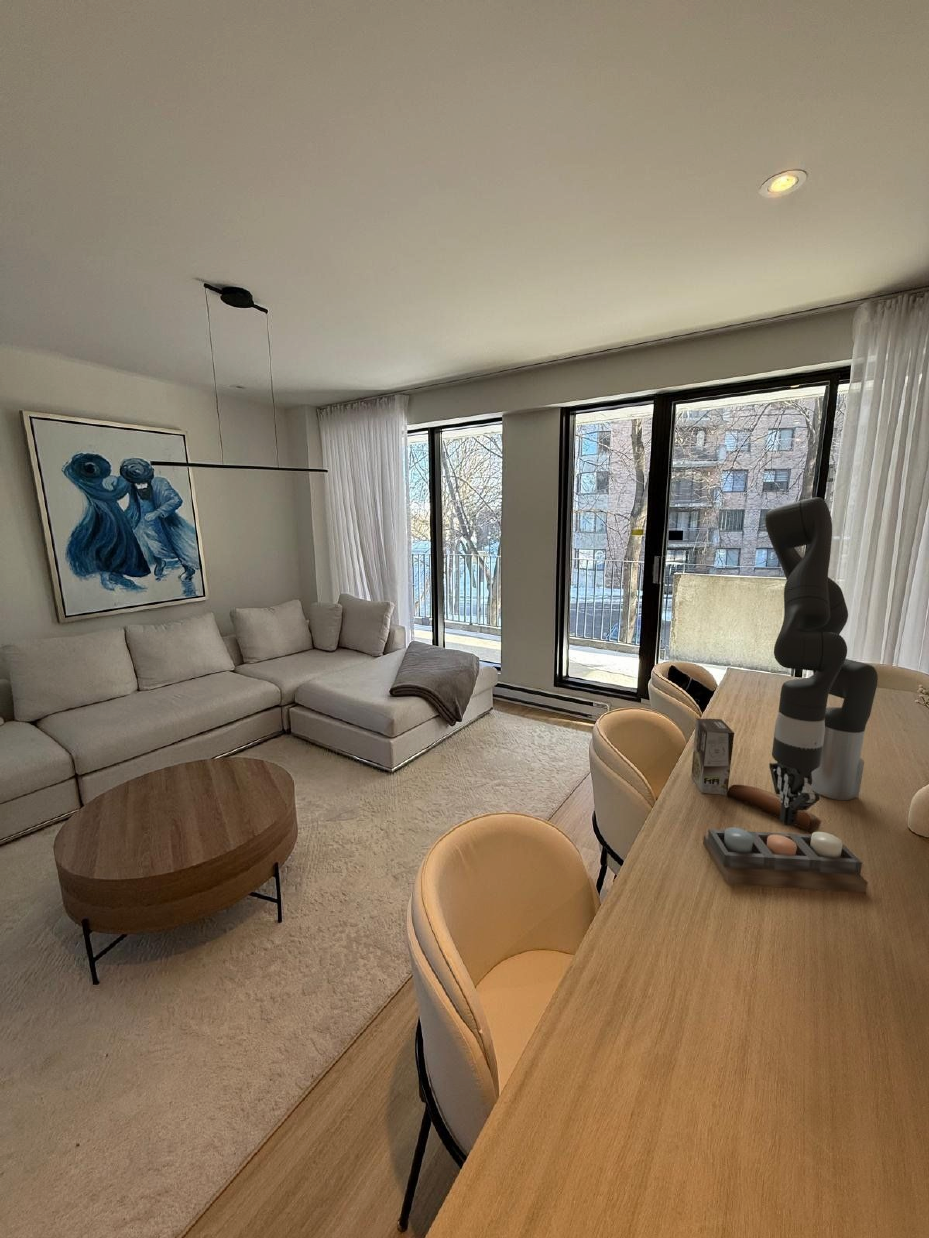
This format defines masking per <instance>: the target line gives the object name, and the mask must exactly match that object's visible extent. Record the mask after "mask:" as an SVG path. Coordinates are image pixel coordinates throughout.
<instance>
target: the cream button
mask: <svg viewBox="0 0 929 1238" xmlns="http://www.w3.org/2000/svg"><path fill="white" fill-rule="evenodd" d="M811 833H812V834H811V835H812V836H811V843H810V848H811V849H812V850H813V851H814V853H815V854H816V855H817V856H818V857H831V858H840V857H841V851H842V845H843V844H844V843H843V842H842V840H841V839H840V838H838V836H836V835H833V834H830V833H829V832H824V831H814V832H811ZM835 836H836V837H835Z"/></svg>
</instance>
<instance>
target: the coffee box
mask: <svg viewBox="0 0 929 1238" xmlns="http://www.w3.org/2000/svg"><path fill="white" fill-rule="evenodd" d="M694 726H695V729H694V737H693V738H694V739H693V752H692V764H691V773H690V775H691V777H692V780H693V781H694V783H695V784H696V786H697V788H698V789H699V791H700V792H701V793H702V794H710V795H711V794H714V795H722V796H723V795H725V796H727V792H728V789H729V783H730V774H731V766H732V755H733V750H734V749H733V747H734V738H735V734H736V733H735V732H734V731H733V730H732V729H731V728H730V727H729V725H728V724H727V723H725V721H723V719H721V718H698V717H697V718H695V725H694Z"/></svg>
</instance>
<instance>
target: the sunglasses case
mask: <svg viewBox="0 0 929 1238" xmlns="http://www.w3.org/2000/svg"><path fill="white" fill-rule="evenodd" d="M726 797H728V798H730V799H733V800H735V801H738V802H741V803H743V804H747V805H748V806H752V807H755V808H757V809H758V810H761V811H763V812H765V813H768V814H769V815H773V816H774V817H777V818H779V819H780V813H781V805H782V803H781V802H780V799H779V797H780V795H777V794H776V793H773V792H770V791H768V790H764V789H762V788H758V787H755V786H752V785H751V786H749V785H745V784H731V785H730V786H729V787H728V792H727V795H726ZM821 822H823V820H822V819H820V818H819V817H818V816H816V815H815V814H814V813H812V812H810V811H808V810H798V813H797V821H796V825H795V826H796V827H799V828H800V829H803V830H805V831H807V832H808V834H809V833H813V831H814V830H815V829H816V828H817V827H818V826H819V825H820V824H821Z"/></svg>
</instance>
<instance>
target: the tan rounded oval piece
mask: <svg viewBox="0 0 929 1238" xmlns="http://www.w3.org/2000/svg"><path fill="white" fill-rule="evenodd" d="M767 847H768V849H769V850H770V851H771V852H772V854H775V855H794V856H796V849H797V845H796V843H795V842H794V841H792V840H791V839H789V838H787V837H784V836H781V835H770V836H768V838H767Z"/></svg>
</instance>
